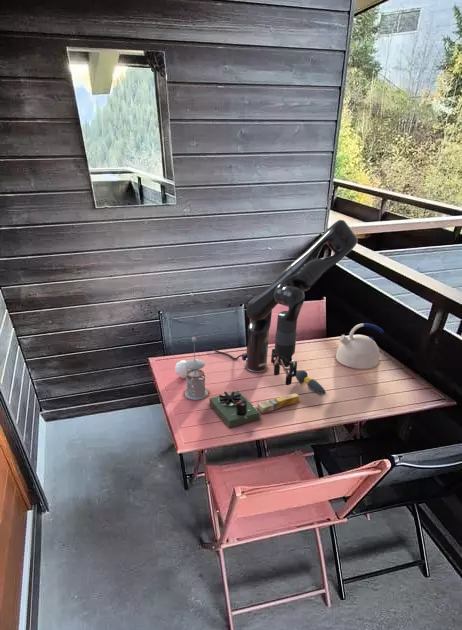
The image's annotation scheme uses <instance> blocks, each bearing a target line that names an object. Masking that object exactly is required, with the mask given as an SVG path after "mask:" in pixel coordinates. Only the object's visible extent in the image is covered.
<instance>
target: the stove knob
mask: <svg viewBox="0 0 462 630" xmlns="http://www.w3.org/2000/svg"><path fill="white" fill-rule="evenodd" d="M246 413H247V402H246V401H245V400H238V401H237V402H236V414H237V415H241V416H242V415H245V414H246Z"/></svg>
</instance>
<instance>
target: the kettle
mask: <svg viewBox="0 0 462 630" xmlns="http://www.w3.org/2000/svg"><path fill="white" fill-rule="evenodd" d="M362 327H365V328H367V327H368V328H371V329H374V330H377V331H378V332H379V333H380V334H384V333H385V331H384V330H383V329H382V328H381V327H380V326H378V325H375V324H373V323H367V322H366V323H364V322H363V323H359V324H356V325H355V326H353V328H351V329H350V331H349V333H348V337H347V336H346V335H345V334H341V336H339V337H338V341H339V342H340V344H339V346H338V347H337V352H336V354H335V359H336V361H337V362H338V363H339V364H341V365H342V366H345V367H348V368H351V369H357V370H368V369H372V368H374V367H376V366H378V365H379V363H380V355H381V354H380V353H381V352H380V348H379V346H378V344H377V343H376V341H375V338H374V337H373V336H367V335H364V334H355V332H356V331H357V330H358V329H360V328H362Z"/></svg>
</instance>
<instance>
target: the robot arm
mask: <svg viewBox="0 0 462 630" xmlns="http://www.w3.org/2000/svg"><path fill="white" fill-rule="evenodd" d="M358 242H359V239H358V236H357V235H356V234H355V232H354V231H353V230H352V229H351V227H350V226H349V224H348V223H347V222H346V220H344V219H339V220H337V221H335V222H334V223H333V224H332V225H330V227H328V229H327V230H325V231H324V232H323V233H322V235H321V236H320V237H319V238H318V239H316V240H315V242H313V243H312V245H311V246H310V247H309V248H307V249H306V250H305V251H304V252H303V253H302V254H301V255H299V256H298V257H297V258H296V259H295V260H293V261H292V262H291V263H290V264H289V265H288V266H287V267H286V268H285V269H284V270H283V271H282V272H280V274H278V276H277V277H276V278H275V279H274V281H273V282H272V283H271V284H270V285H269V287H268V288H266V289H265V290H264V291H263V292H262V293H260V294H256V295H255V296H254V297H252V299H250V301H249V302H248V303H247V305H246V309H245V313H246V317H247V318H248V319H249V324H248V327H247V346H246V352H245V353H241V354H239V355H238V356H237V357H233V355H231V354H230V353H226V352H223V351H219V350H217V349H216V348H214V347H210V348H209V349H208V350H209V351H211V350H213V351H214V352H216V353H218V354H221V355H224V356H227V357H229V358H231V359H232V360H234V361H235V360H238V359H239V358H241V359H242V361H245V367H246V368H245V369H246V370H247V371H249V372H251V373H254V374H255V373H258V374H259V373H264V372H266V370H268V366H267V365H268V351H269V335H270V328H271V323H272V315H273V314H272V313H273V309H274V308H275V307H277V306H278V305H281V306H284V307H287V308H288V310H283V311H280V312H279V313H278V314H277V320H276V322H277V323H276V331H275V336H274V337H275V339H274V340H275V341H274V348H272V349H271V354H270V355H271V356H270V363H271V364H272V365H273V376H279V375H280V371H281V367H282V370H283V372H285V385H286V386H290V385H291V384H292V382H293V378H294V377H295V378H296V372H297V370H298V361H295V360H293V355H295V353H296V346H297V345H296V344H297V327H298V319H299V315H300V312H301V310H302V308H303V304H304V302H305V298H306V297H305V292H306V291H309V290H310V289H311V288H312V287H313V286H314V285H315V284H316V282H317V281H319V279H320V278H321V277H322V276H323V275H325V274H326V273H327V272H328V271H329V270H330V269H332V268H333V267H334V266H335V265H336V264H338V263H339V262H340V261H341V260H342V259H344V258H345V257H347V255H348V254H349V253H350V252H351V251H353V249H354V248H355V247H356V245H357V244H358ZM325 245H327V247H329V249H330V250H331V251H332V252H333V254H332V255H330V256H327V257H320V258H318V257H319V255H320V253H321V250H322V249H323V247H324V246H325Z"/></svg>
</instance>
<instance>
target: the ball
mask: <svg viewBox="0 0 462 630" xmlns="http://www.w3.org/2000/svg"><path fill="white" fill-rule="evenodd" d="M187 361H188V360H185V359H183V360H179V361H178V362H177V363H176V364H175V367H174V372H175V374H176V375H177V376H178V377H179V378H182V379H186V375H187V374H186V373H187V367H186V366H185V363H186V362H187ZM189 370H192V369H189V368H188V371H189Z"/></svg>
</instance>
